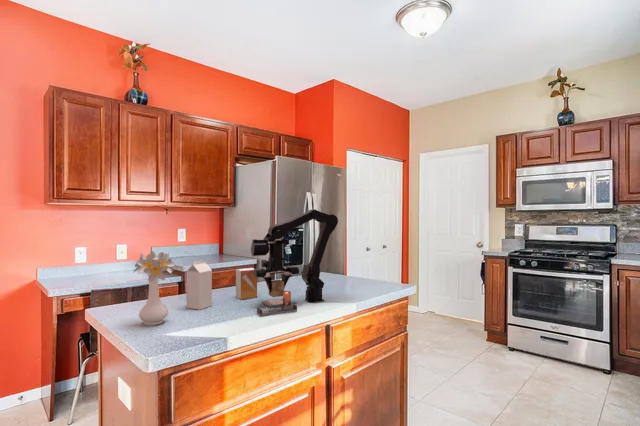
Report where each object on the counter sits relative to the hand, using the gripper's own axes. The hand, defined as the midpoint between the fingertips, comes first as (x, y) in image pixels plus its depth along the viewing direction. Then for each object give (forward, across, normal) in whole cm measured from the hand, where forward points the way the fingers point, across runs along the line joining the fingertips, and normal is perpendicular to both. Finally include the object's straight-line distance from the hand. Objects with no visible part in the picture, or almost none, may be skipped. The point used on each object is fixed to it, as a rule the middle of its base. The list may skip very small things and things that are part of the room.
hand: (276, 291), depth 152 cm
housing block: (+2, 0, 0) cm, 2 cm away
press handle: (+4, 0, +12) cm, 13 cm away
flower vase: (+6, +47, +4) cm, 47 cm away
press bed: (+5, 0, 0) cm, 5 cm away
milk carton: (+6, +30, -11) cm, 32 cm away
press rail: (+5, +4, +12) cm, 14 cm away
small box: (+6, +8, -19) cm, 21 cm away
